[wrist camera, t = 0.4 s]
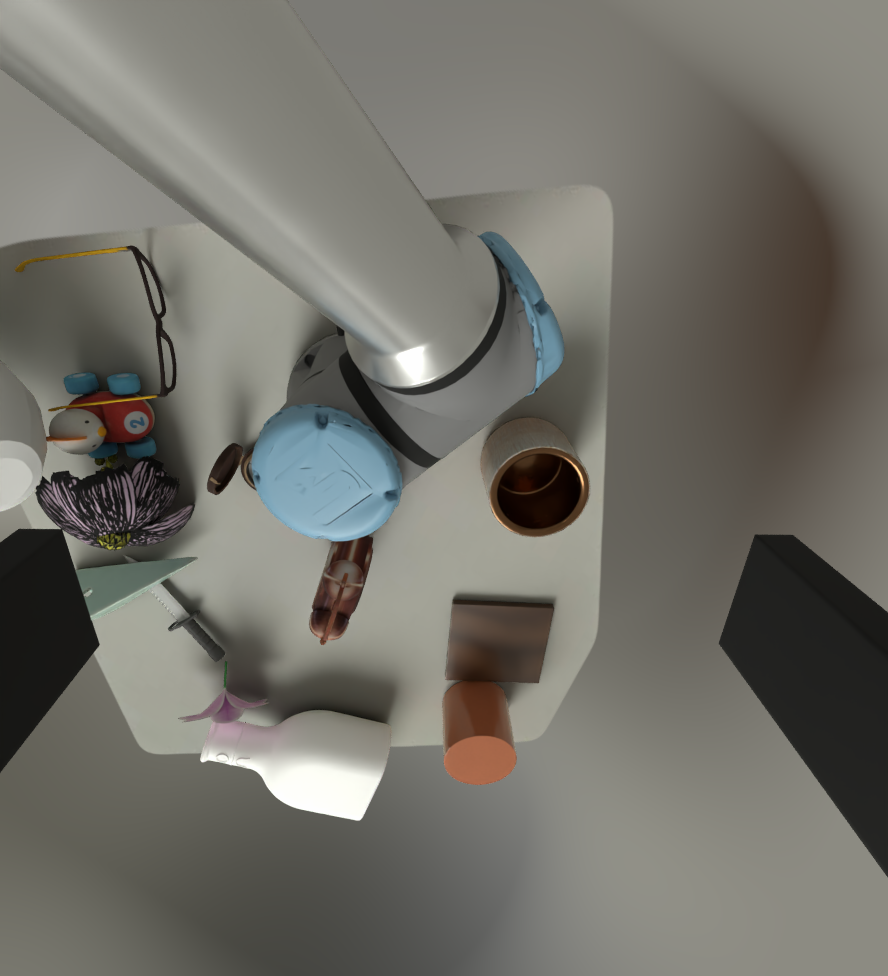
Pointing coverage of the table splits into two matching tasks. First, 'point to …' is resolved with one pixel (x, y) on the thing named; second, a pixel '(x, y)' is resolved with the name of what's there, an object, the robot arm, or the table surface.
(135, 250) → the eyeglasses
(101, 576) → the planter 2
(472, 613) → the brown wooden square plate
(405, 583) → the table surface
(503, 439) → the planter
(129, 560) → the knife
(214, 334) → the table surface
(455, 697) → the copper solid cylinder
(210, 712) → the lily
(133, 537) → the decorative flower
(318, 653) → the table surface
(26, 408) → the soap bottle
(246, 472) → the compass
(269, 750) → the bottle
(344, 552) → the alarm clock
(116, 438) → the toy car
